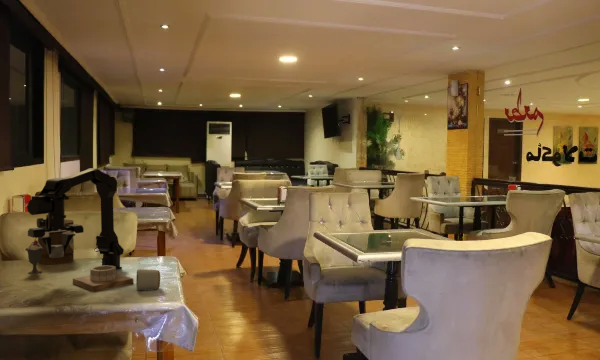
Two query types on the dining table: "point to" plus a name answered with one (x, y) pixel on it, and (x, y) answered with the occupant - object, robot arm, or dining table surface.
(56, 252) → the smooth gray stone
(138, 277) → the ceramic mug
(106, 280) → the brown board with ring
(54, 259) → the wooden container
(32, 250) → the sundae
